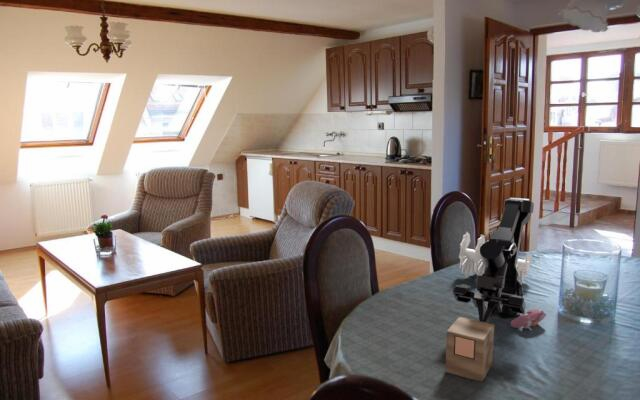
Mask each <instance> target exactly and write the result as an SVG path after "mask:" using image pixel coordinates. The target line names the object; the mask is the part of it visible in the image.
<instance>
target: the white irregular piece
mask: <svg viewBox="0 0 640 400" xmlns="http://www.w3.org/2000/svg"><path fill="white" fill-rule="evenodd" d="M485 238H486V237H485V235H484V234H480V237H479V238H477V242H476V247H475V249H472V248H468V247H469V245H470V244H471V234H470V233H469V232H468V231H466V232H465V234H463V235H462V240H461V242H460V244H459V249H460V250H459V251H460V252H459V254H458V258H459V269H461V275H462V274H463V275H464V277H465V278H466V279H467V278H468V277H470V276H471V277H472V276H473V274H477V275H480V276H482V275H483V274H484V270H485V265H484V263H483V260H482V257H481V254H480V247H481V246H482V245H483V244H484V243H486V239H485ZM532 260H533V254H530V253H526V254H525V257H524V259H520V258H518V260H517V266H516V269H517V272H518V274H519V276H520V281H521V284H522V283H523V281H524V280H525V279H526V276H528V272H529V269H530V266H531V265H532ZM477 275H476V276H477Z"/></svg>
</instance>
